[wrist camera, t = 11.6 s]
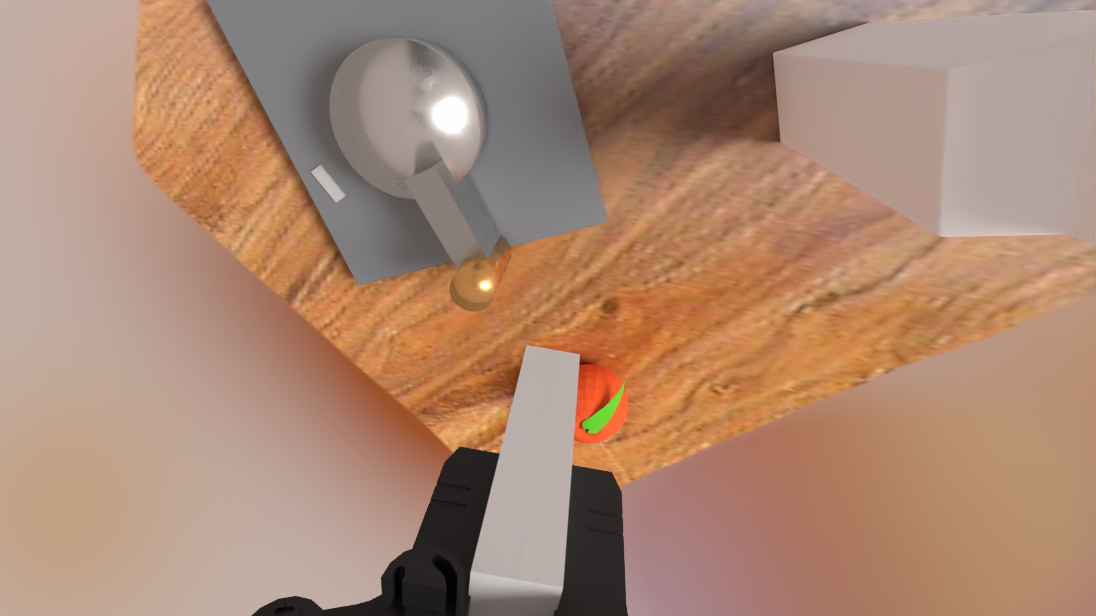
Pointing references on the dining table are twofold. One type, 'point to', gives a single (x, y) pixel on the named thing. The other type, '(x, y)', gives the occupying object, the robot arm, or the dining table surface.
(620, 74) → the dining table surface
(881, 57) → the milk
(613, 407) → the clementine
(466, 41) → the plate
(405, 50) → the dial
